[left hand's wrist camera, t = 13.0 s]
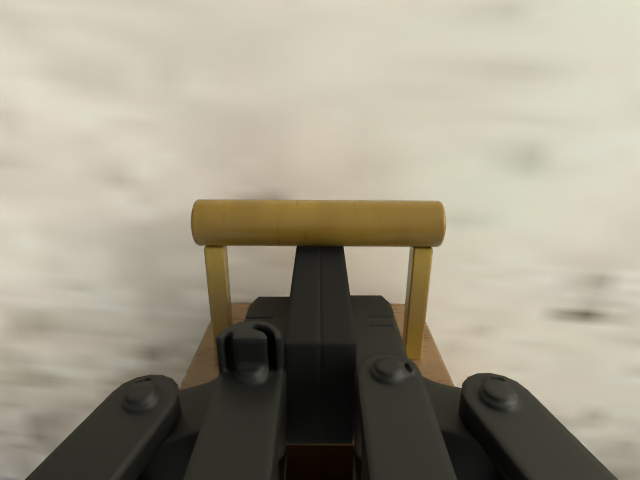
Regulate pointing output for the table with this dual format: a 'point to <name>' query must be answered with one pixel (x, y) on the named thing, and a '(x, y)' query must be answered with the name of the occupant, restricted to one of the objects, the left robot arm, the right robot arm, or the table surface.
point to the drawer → (319, 230)
